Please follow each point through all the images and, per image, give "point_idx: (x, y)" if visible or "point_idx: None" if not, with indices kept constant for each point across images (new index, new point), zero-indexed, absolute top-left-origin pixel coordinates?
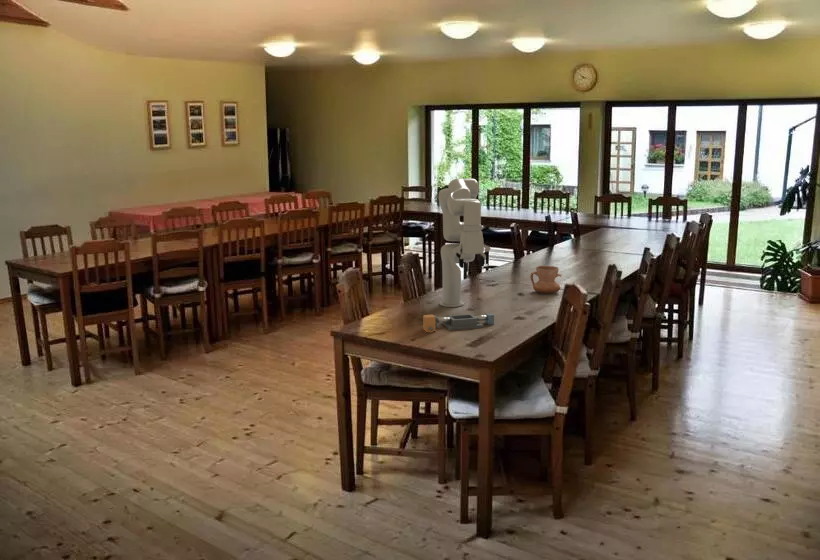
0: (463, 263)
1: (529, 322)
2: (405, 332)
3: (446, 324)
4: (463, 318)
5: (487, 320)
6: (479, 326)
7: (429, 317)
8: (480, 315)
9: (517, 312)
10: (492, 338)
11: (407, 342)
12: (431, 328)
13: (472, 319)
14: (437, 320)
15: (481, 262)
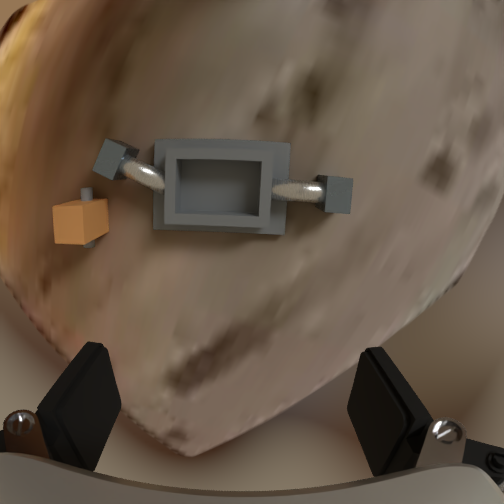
0: (105, 436)
1: (441, 229)
2: (35, 209)
3: None
4: (234, 160)
5: (319, 204)
6: (270, 233)
7: (66, 243)
8: (300, 190)
9: (458, 109)
10: (258, 350)
11: (34, 301)
12: (87, 246)
13: (247, 226)
14: (121, 174)
15: (365, 415)
